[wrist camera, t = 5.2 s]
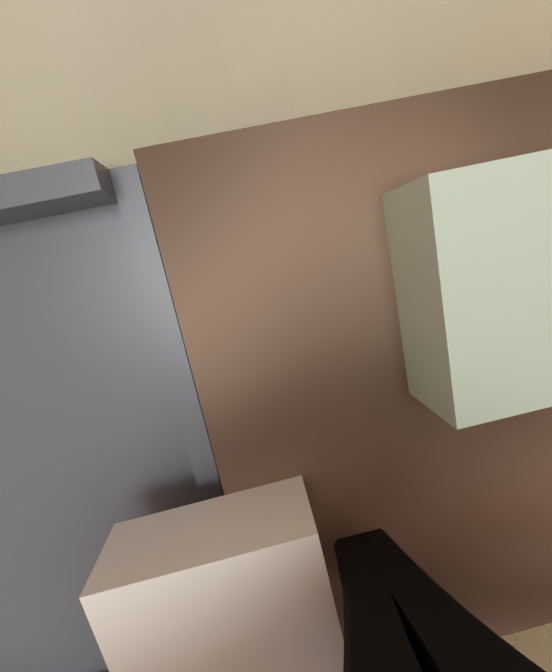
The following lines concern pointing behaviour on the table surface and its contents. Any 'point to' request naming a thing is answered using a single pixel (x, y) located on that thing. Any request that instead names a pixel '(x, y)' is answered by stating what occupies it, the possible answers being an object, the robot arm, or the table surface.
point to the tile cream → (217, 588)
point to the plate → (352, 336)
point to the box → (84, 399)
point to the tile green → (476, 287)
